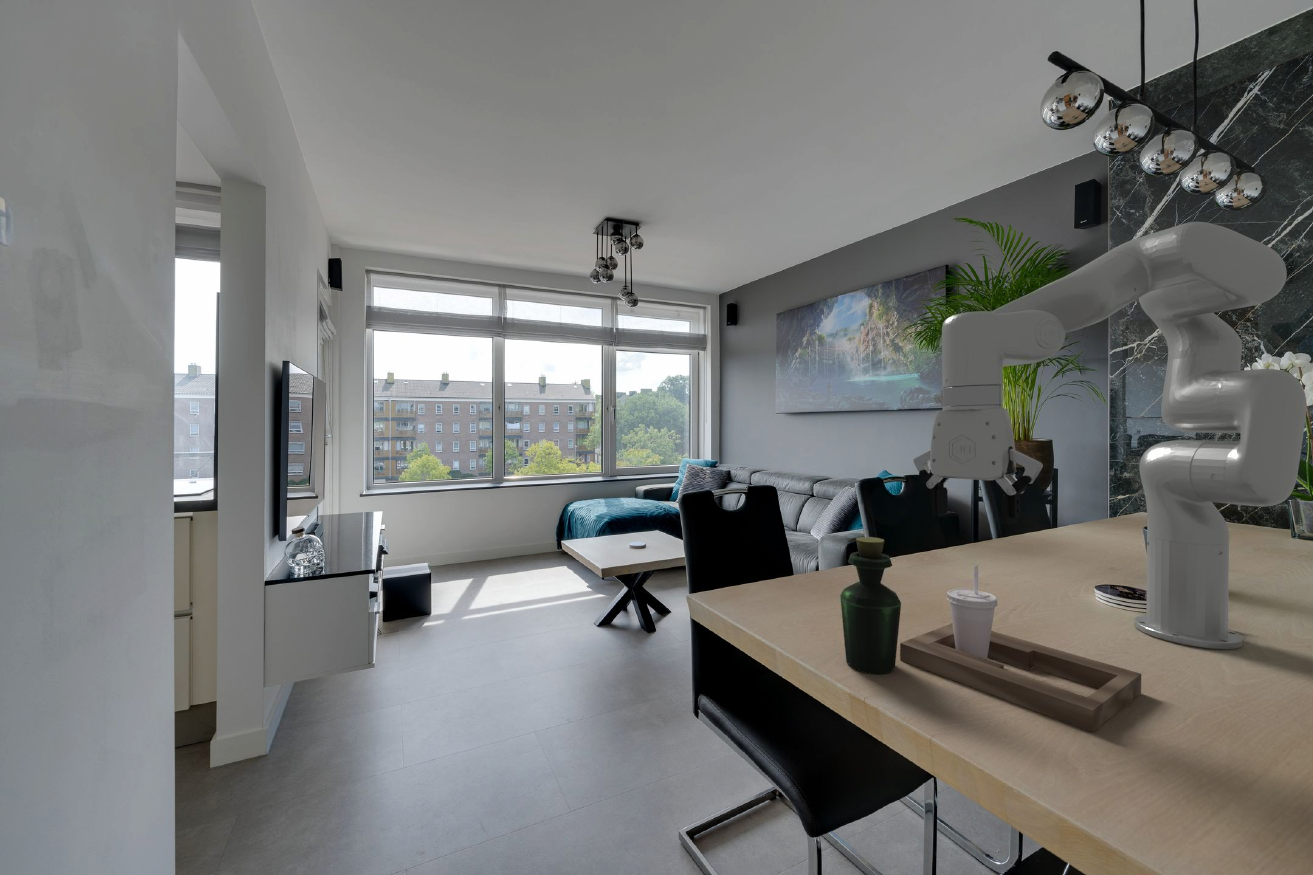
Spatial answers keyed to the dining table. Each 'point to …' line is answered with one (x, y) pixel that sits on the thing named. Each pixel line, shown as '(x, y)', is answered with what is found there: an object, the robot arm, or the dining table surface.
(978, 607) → the smoothie
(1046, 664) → the keyhole board
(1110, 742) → the dining table surface
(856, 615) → the potion bottle
